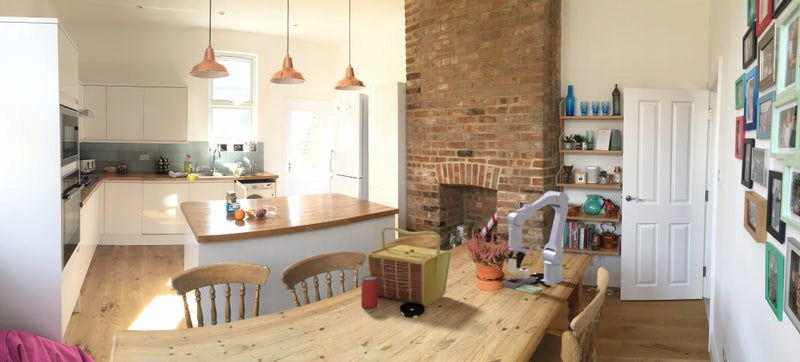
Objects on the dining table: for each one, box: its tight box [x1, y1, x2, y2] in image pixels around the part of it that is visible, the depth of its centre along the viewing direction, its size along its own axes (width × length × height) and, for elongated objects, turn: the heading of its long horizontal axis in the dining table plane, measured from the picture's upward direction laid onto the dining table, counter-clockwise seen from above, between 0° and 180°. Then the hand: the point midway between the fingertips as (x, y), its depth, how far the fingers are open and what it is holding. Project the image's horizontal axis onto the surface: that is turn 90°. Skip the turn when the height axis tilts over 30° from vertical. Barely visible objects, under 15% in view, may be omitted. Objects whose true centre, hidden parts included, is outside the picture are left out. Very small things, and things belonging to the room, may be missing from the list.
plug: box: [507, 255, 521, 274], centre depth 244 cm, size 4×4×7 cm
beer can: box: [360, 275, 378, 310], centre depth 214 cm, size 7×7×12 cm
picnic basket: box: [367, 226, 451, 307], centre depth 226 cm, size 29×26×30 cm
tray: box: [515, 284, 543, 295], centre depth 239 cm, size 8×8×1 cm
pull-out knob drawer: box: [517, 267, 531, 280], centre depth 251 cm, size 4×4×7 cm
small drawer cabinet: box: [501, 275, 537, 290], centre depth 248 cm, size 18×8×3 cm, turn 137°
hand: (514, 266), depth 244 cm, fingers closed on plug, 4 cm apart
